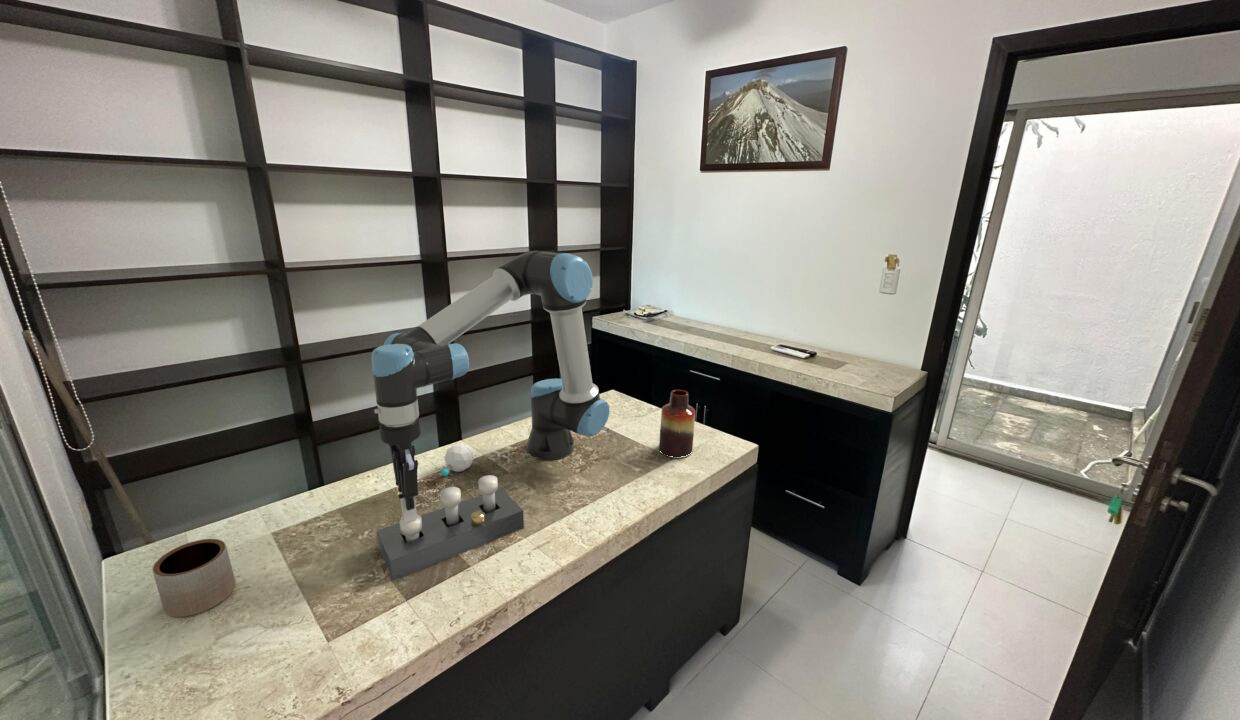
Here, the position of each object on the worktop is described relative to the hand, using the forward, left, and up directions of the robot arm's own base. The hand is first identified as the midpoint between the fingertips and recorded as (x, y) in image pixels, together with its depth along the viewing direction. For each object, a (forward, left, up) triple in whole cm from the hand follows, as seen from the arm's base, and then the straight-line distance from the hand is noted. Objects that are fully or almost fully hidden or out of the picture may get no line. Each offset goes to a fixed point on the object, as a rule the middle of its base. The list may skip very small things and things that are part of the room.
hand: (410, 519), depth 107 cm
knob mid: (-9, 0, -5) cm, 10 cm away
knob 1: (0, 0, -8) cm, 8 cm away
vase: (-83, -2, -9) cm, 84 cm away
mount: (-9, 0, -9) cm, 13 cm away
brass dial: (-14, +4, -4) cm, 15 cm away
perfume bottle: (-20, -29, -9) cm, 36 cm away
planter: (+37, -11, -9) cm, 40 cm away
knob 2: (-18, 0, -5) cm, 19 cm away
